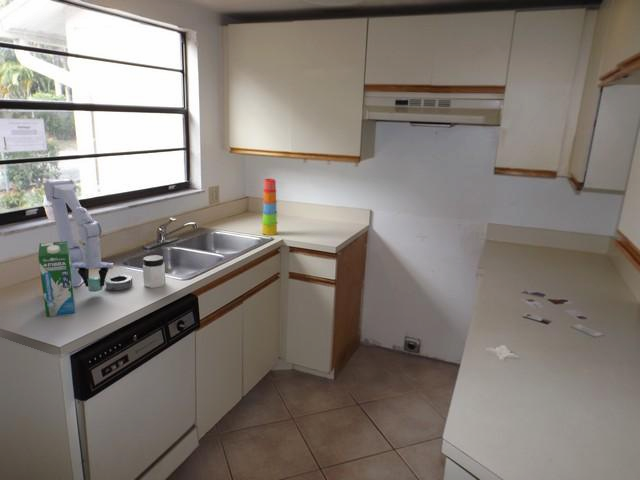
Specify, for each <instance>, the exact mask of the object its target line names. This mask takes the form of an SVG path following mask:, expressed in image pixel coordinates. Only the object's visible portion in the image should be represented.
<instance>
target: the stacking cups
mask: <svg viewBox="0 0 640 480" xmlns="http://www.w3.org/2000/svg"><path fill="white" fill-rule="evenodd" d="M276 183H277V182H276V179H274V178H265V179H264V181H263V200H262V202H263V210H262V215H263V216H262V221H261V224H262V231H261V234H262V232H263V233H264V234H266V235H265V236H276V235H278V234H279V233H278V231H277V230H278V229H277V227H278V225H277V224H278V223H279V222H278V221H277V220H278V219H277V217H278V216H277V215H278V211H277V202H278V201H277V187H276ZM275 234H276V235H275Z"/></svg>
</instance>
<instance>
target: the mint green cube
mask: <svg viewBox="0 0 640 480" xmlns="http://www.w3.org/2000/svg"><path fill="white" fill-rule="evenodd" d="M87 281H88V287H87V288H88V291H89V292H92V293H93V292H95V293H96V292H99V291H102V290H103V287H101V284H100V276H99V275H97V276H90V277H89V278H88V279H87Z"/></svg>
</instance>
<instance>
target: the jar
mask: <svg viewBox="0 0 640 480" xmlns="http://www.w3.org/2000/svg"><path fill="white" fill-rule="evenodd" d="M142 262H143V264H142V276H143V277H142V278H143V286H144V287H147V288H150V289H153V288H154V289H155V288H160V287H164V285H165V284H166V282H167V281H166V267H165V265H166V263H165V261H164V256H163V255H157V254H154V255H153V254H152V255H147V256H145V257H143V258H142Z"/></svg>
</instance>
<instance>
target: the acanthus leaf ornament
mask: <svg viewBox="0 0 640 480" xmlns="http://www.w3.org/2000/svg"><path fill="white" fill-rule="evenodd" d="M485 350H486V351H487V352H489V353H491V354H493V355H496V356H498V358H499V359H500V360H501V361H504V360H505V358H508V359H514V358H517V359H519V356H518V355H516V354H514V353H511V350H510V349H509V348H508V347H507V346H506V345H500V346H499V347H495V348H493V347H487V348H486V349H485Z"/></svg>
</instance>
